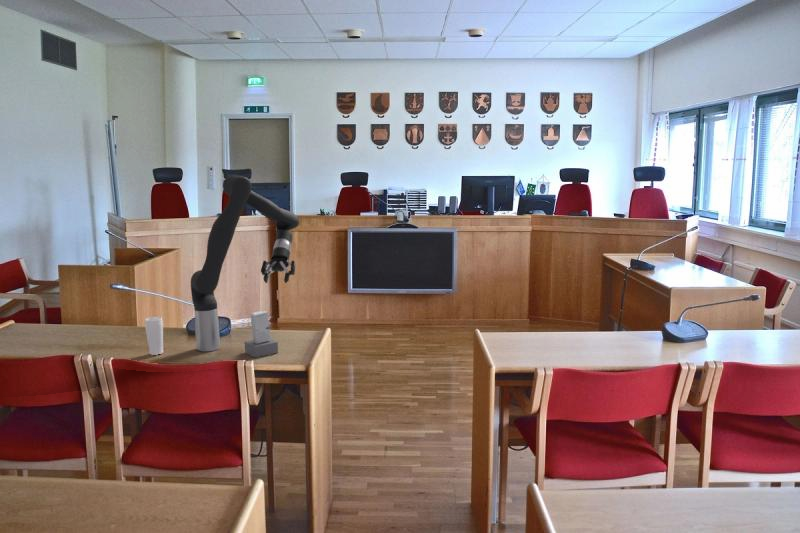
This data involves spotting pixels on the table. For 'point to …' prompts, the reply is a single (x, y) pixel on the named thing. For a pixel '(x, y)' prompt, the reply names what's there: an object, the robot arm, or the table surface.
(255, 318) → the skincare box
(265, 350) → the charcoal block
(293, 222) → the robot arm
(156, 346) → the drinking glass
